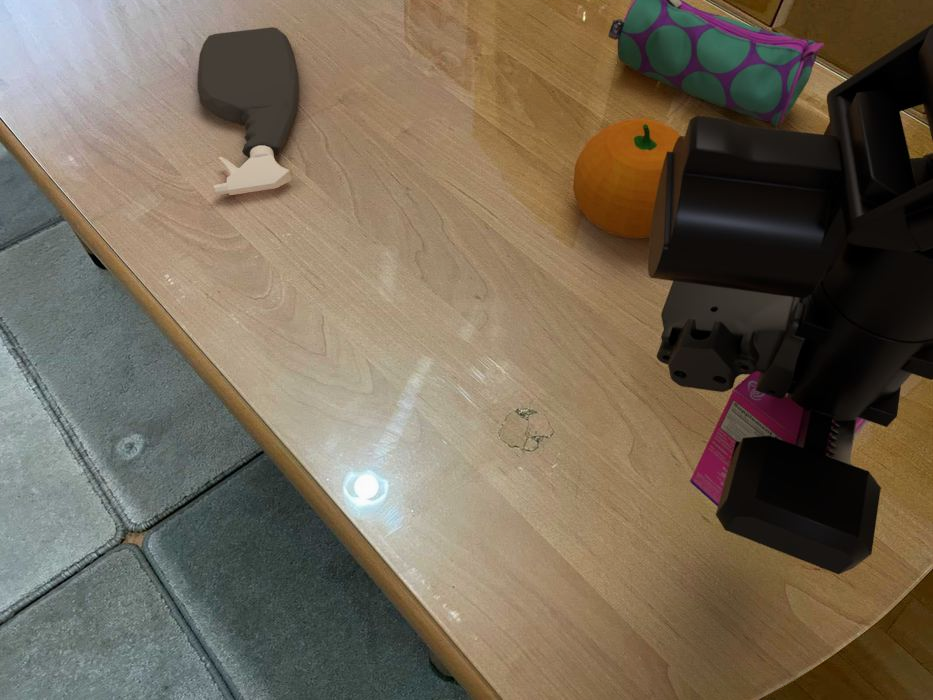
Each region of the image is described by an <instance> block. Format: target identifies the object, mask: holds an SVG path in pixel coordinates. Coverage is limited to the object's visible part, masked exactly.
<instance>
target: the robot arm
mask: <svg viewBox="0 0 933 700" xmlns="http://www.w3.org/2000/svg"><path fill="white" fill-rule="evenodd" d="M826 105H827V113H828V120H829V122H828V125H827V126H826V128H825V131H824V133H823V134H821V133H811V132H805V131H804V132H803V131H794V130H788V129H787V130H786V129H777V128H771V127H770V128H769V127H759V126H752V125H747V124H743V123H740V122H737V121H734V120H731V119H729V118H728V119H726V118H722V117H713V116H706V115H705V116H704V115H695V116H693V117H692V118H690V119H689V121H688V125H687V128H686V131H685V134H684V135H681V136H680V137H679V138H678V139H677V141H676V143H675V145H674V148H673V151H672V152H668V151H667V153H666V157H665V160H664V164H663V168H662V172H661V176H660V180H659V185H658V189H657V194H656V200H655V205H654V211H653V217H652V223H651V231H650V237H649V240H648V249H647V250H648V252H647V273H648V277H649V278H650V279H656V280H662V281H663V280H664V281H671V282H672V283H671V285H670V289H669V291H668V294H667V297H666V299H665V301H664V305H663V308H662V310H661V314H660V317H661V322H662V327H663V330H662V333H661V336H660V339H661V342H660V345H659V348H658V350H657V353H656V359H657V360H658V361H659V362H660V363H662V364H665V365H667V367H668V372H669V377H670V379H671V380H672V381H673V382H674V383H675V384H677V385H678V386H680V387H684V388H688V389H689V388H690V389H695V390H696V389H698V390H703V391H704V390H705V391H711V392H718V393H724V392H728V391H730V390H733V389H734V385H735V382H736V379H737V378H738V377H739V376H742V375H744V376H745V375H748V376H749V375H750V374H752V373H754V372H757V371H758V372H761V374H760V376H759V378H758V382H757V386H756V391H758V392H761V393H764V394H767V395H770V396H773V397H776V398H779V399H782V398H784V397H787V398H790V399H791V400H792V401H793V402H795V403H796V404H797V405H799V406H800V407H802V408H803V413H802V418H801V422H800V427H799V432H798V436H797V441H796V445H794V444H791V443H788V442H786V441H783V440H780V439H777V438H775V437H772V436H759V437H747V438H743V439H742V440H741V442H738V441H736V443H735V447H734V450H733V454H732V458H731V461H730V465H729V468H728V471H727V475H726V478H725V482H724V486H723V490H722V493H721V497H720V501H719V505H718V507H717V509H716V512H715V517H716V518H717V519H718V521H719V523H720V524H721V526H722V528H723V529H724V531H726V532H729V533H730V534H731V533H732V534H734V535H736V536H739V537H742V538H745V539H747V540H750V541H752V542H753V543H757V544H758V545H762V546H765V547H768V548H770V549H772V550H774V551H777V552H780V553H782V554H784V555H788V556H790V557H793V558H795V559H798V560H801V561H803V562H806V563H808V564H810V565H813V566H816V567H818V568H821V569H824V570H826V571H828V572H830V573H834V574H836V575H841V574H843V573H845V572H847V571H850V570H852V569H854V568H856V567H857V566H859V564H861V563H862V562H864V561H865V560H866V559H867V558H869V557H870V556H872V554H873V548H874V547H873V546H874V539H875V532H876V526H877V518H878V512H879V511H878V510H879V505H880V498H881V497H880V496H881V490H882V487H881V486H880V484H879V483H878V481H877V480H876V479H875V478H874V476H873V475H872V473H871V472H870V471H869V470H866V469H864V468H862V467H858V466H855V465H854V464H853V463H852V462H851V457H852V452H853V446H854V440H855V439H854V434H855V428H856V422H857V417H859V418H862V419H864V420H867V421H869V422H871V423H872V424H873V423H874V424H876V425H879V426H881V427H885V428H887V427H888V426H889V425H890V424H891V423H893V422H894V420H896V418H897V417H898V411H899V403H900V396H901V389H902V385H904V383H905V382H906V381H907V380H908V379H909V378H910V376H912V375H915V376H917V377H921V378H924V379H927V380H929V381H930V380H931V381H933V152H929V153H927V154H925V155H923V157H913V158H912V157H911V156H910V155H911V154H910V151H909V147H908V143H907V139H906V138H907V137H906V134H905V129H904V125H903V121H902V117H901V112H903V111H906V110H909V109H912V108H915V107H918V106H921V105H923V109H924V113H925V116H926V121H927V124H928V128H929V132H930V136H931V140H932V141H933V23H932V24H930V25H929V26H927V27H925V28H924V29H923V30H921V31H920V32H918V33H917V34H915V35H913V36H912V37H910V38H909V39H907V40H906V41H904V42H903V43H901V44H899V45H897V47H895V48H893V49H892V50H890V51H889V52H887V53H885V54H884V55H883V56H881V57H879V58H878V59H877V60H875V61H874V62H871V63H870V64H869V65H867V66H866V67H864V68H863V69H861V70H860V71H858V72H856V73H854V74H853V75H852V76H850V77H849V78H847V79H846V80H844V81H842V82H841V83H840V84H838V85H836V86H835V87H834V88H831V90H829V91H828V93H827V95H826ZM833 420H834V421H833ZM832 422H833V423H832ZM831 427H833V428H832V429H831ZM830 433H831V435H830ZM829 440H830V442H829ZM828 447H829V448H828ZM827 448H828V449H827ZM826 453H827V454H828V455H827V456H826Z"/></svg>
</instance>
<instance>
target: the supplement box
mask: <svg viewBox="0 0 933 700" xmlns="http://www.w3.org/2000/svg"><path fill="white" fill-rule="evenodd" d="M760 374H761V372H758V371H757V372H754V373H752V374H749V375H748V376H746V377H745V378H744V379H743V380H742V381H741V382H740V383H738V384H737V385H736V386H735V387H733V388H732V391H731V394H730V395H729V397H728V400H727V402H726V404H725V406H724V408H723V411H722V412H721V415H720V417H719V418H718V421H717V423H716V425H715V427H714V429H713V431H712V433H711V435H710V438H709V440H708V441H707V444H706V446H705V448H704V450H703V452H702V454H701V456H700V459H699V461H698V462H697V465H696V467H695V469H694V471H693V473H692V475H691V477H690V479H689V482H690V483H691V484H692V485H693V486H694V487H695V488H696V489H697V490H698V491H700V492H701V493H702V495H704V496H705V497H706V498H707V499H708V500H709V501H711V503H713V504H714V505H715V506H716V507H717V508H718V505H719V501H720V497H721V493H722V490H723V486H724V482H725V478H726V475H727V471H728V468H729V465H730V461H731V458H732V454H733V450H734V447H735V443H736V441H738V442H741V440H742V439H743V438H747V437H759V436H772V437H775V438H777V439H780V440H783V441H786V442H788V443H791V444H794V445H796V441H797V436H798V432H799V427H800V422H801V418H802V413H803V408H802V407H800V406H799V405H797V404H796V403H795V402H793V401H792V400H791V399H790V398H787V397H784V398H782V399H779V398H776V397H773V396H770V395H767V394H764V393H761V392H758V391H756V386H757V382H758V378H759V376H760ZM833 421H834V420H833ZM869 422H870V421H867V420H864V419H862V418H859V417H857V422H856V428H855V434H854V440H855V439H856V438H857V437H858V435H860V433H861V432H862V430H863V429H864V428H865V427H866V425H867V424H868V423H869ZM832 423H833V422H832ZM832 428H833V427H831V429H832ZM830 435H831V433H830ZM829 442H830V440H829ZM828 448H829V447H828ZM828 448H827V449H828ZM827 455H828V454H827V453H826V456H827Z"/></svg>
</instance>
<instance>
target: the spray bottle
mask: <svg viewBox="0 0 933 700" xmlns="http://www.w3.org/2000/svg"><path fill="white" fill-rule="evenodd" d="M197 93H198V97H199V101H200V103H201V104H202V106H204V108H205V110H206V111H207V112H209V113H211V114H212V115H214V116H216V117H218V118H220V119H222V120H223V121H226V122H230V123H233V124H236V125H241V126H244V129H245V132H246V133H245V135H244V140H245V143H244V145H243V147H242V150H241V153H242V154H243V156H245V157H247V158H248V159H247V160H246V161H245V162H244V163H243V164H241V166H240V167H237V166H235V164H233V163H232V162H230V161H229V160H228V159H226V158H225V157H223V156H219V157H218V161H219V162H220V163H221V165H222V166H223V167H224V168H225V169H226V171H227V172H228V173H229V175H228V176H227V177H226V182H222V183H217V184H214V185H213V191H214V194H215V196H220V195H227V194H229V196H233V195H240V194H246V193H253V192H259V191H266V190H273V189H277V188H278V189H279V187H281V186H283V185H285V184H287V183H289V182H291V181H292V177H291V172H290V170H289V169H288V168H286V167H283V166H282V165H280V164H279V163H278V162H277V161H276V159H275V157H277V156H279V155H280V154H281V152H282V150H283V148H284V145H285V143H286V141H287V139H288V136H289V134H290V132H291V129H292V127H293V125H294V122H295V119H296V116H297V113H298V108H299V101H300V77H299V71H298V66H297V61H296V56H295V52H294V50H293V48H292V45H291V42H290V40H289V38H288V36H287V35H286V34H285V33H284V32H283V31H281V30H280V29H278V27H274V26H270V27H263V28H261V27H260V28H254V29H253V28H252V29H244V30H236V31H227V32H219V33H214V34H209V35H208V37H206V39H205V41H204V42H203V44H202V47H201V49H200V52H199V58H198V68H197Z"/></svg>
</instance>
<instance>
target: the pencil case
mask: <svg viewBox="0 0 933 700" xmlns="http://www.w3.org/2000/svg"><path fill="white" fill-rule="evenodd" d="M607 37H608V38H610V39H612V40H614V41H617V57H618V60H619V61H620V62H621V63H623V64H625V65H627V66H629V67H630V68H631V69H632V70H634V71H636V72H638V73H640V74H642V75H644V76H646V77H648V78H650V79H652V80H654V81H656V82H660V83H663V84H665V85H667V86H668V87H671V88H673V89H675V90H677V91H680V92H682V93H684V94H686V95H688V96H691V97H694V98H696V99H699V100H702V101H705V102H707V103H710V104H713V105H715V106H718V107H721V108H724V109H727V110H730V111H732V112H735V113H737V114H738V115H739V114H740V115H744V116H748V117H750V118H752V119H754V120H757V121H762V122H767V123H769V124H770V125H772V126H773V127H779V126H780V125H782V123H783V121H784V120H785V118H786V116H787V115H788V114H789V113H790V112H791V110H792V109H793V108H794V106H795V104H796V102H797V100H798V98H799V97H800V95H801V94H802V92H803V91H804V89H805V87H806V86H807V83H809V80H810V77H811V74H812V71H813V67H814V65H815V62H816V60H817V57H818V54H819V50H820V49H822V48H823V47H824V46H825V43H824V42H819V43H818V42H816V41H815V40H812V39H807V38H806V39H804V38H795V37H793V36H790V35H787V34H785V33H782V32H775V31H768V30H766V29H762V28H760V27H756V26H753V25H751V24H747V23H745V22H742V21H739V20H736V19H733V18H730V17H727V16H724V15H720V14H715V13H712V12H708V11H705V10H702V9H699V8H697V7H695V6H692V4H690V3H688V2H686V1H684V0H633V1H632V2H631V4H630V5H629V8H628V10H627V12H626V14H625V17H624V19H622V18H618V19H613V21H612V23H611V25H610V29H609V32H608V35H607Z"/></svg>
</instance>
